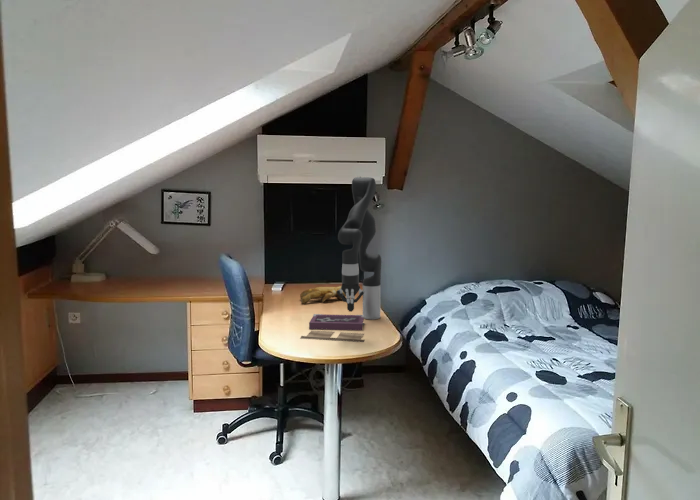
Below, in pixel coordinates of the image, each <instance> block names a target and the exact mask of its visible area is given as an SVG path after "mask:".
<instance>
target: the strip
mask: <svg viewBox="0 0 700 500" xmlns="http://www.w3.org/2000/svg"><path fill="white" fill-rule="evenodd" d="M299 339H301V340H302V339H303V340H315V341H316V340H318V341H334V342H335V341H336V342H348V343H350V342H352V343H365V339H362V338H361V339H346V338H337V337H330V338H329V337H312V336H307V335H301V336H300V338H299Z"/></svg>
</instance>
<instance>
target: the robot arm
mask: <svg viewBox="0 0 700 500" xmlns="http://www.w3.org/2000/svg"><path fill="white" fill-rule="evenodd" d="M376 191H377V183H376V180H375V178H373V177H367V176H366V177H365V176H364V177H362V176H360V177H359V176H358V177H353V178H352V181H351V193H352V198H353V202H354V203H353V204H354V205H353V206H352V208H351V209H350V211H349V212H348V216H347V219H346V221H345V222H344V224H343V225H342V227H340V229H339V231H338V234H337V240H338V241H339V243H340V244H341V245H350V246H352V248H349V249H345V250H343V251H342V254H341V255H342V256H341V257H342V265H341V266H342V267H341V285H340V286H341V289H339V290H338V291H337V294H338V295H339V296H340V298H341V301H342V302H343V303H346V304H347V305H346V306H347V311H348V312H353V311H354V310H355V303H357V302H358V301H359V300H360V299H361V297H362V315H365V317H364V320H365V319H366V320H378V319H381V287H382V285H381V283H382V281H381V279H382V277H381V275H382V274H381V273H382V256H381V254H377V253H367V249H368V246H369V245H370V243H371V241H372V240H373V238H374V237H375V235H376V232H377V230H376V221H375V220H376V219H375V217H374V215H373V213H371V211H370V210H369V209H368V208H369V206H370V205H371V203H372V201H373V198H374V196H375V194H376ZM360 270H361V272H363V273H367V272H368V273H373V274H372V275H371V276H369V277H366V278H363V280H362V289H361V287H360ZM343 292H344V293H345V295H346V296H344V295H343ZM356 295H358V296H356ZM355 296H356V297H355Z"/></svg>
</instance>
